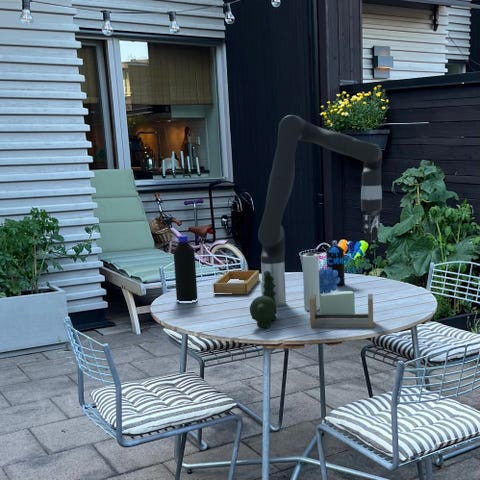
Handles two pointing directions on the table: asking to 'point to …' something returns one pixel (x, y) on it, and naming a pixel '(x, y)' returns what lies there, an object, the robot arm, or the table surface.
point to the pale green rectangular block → (337, 303)
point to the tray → (236, 288)
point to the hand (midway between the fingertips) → (371, 240)
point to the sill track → (341, 317)
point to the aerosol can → (336, 261)
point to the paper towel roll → (311, 279)
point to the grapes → (328, 280)
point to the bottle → (185, 270)
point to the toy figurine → (265, 304)
